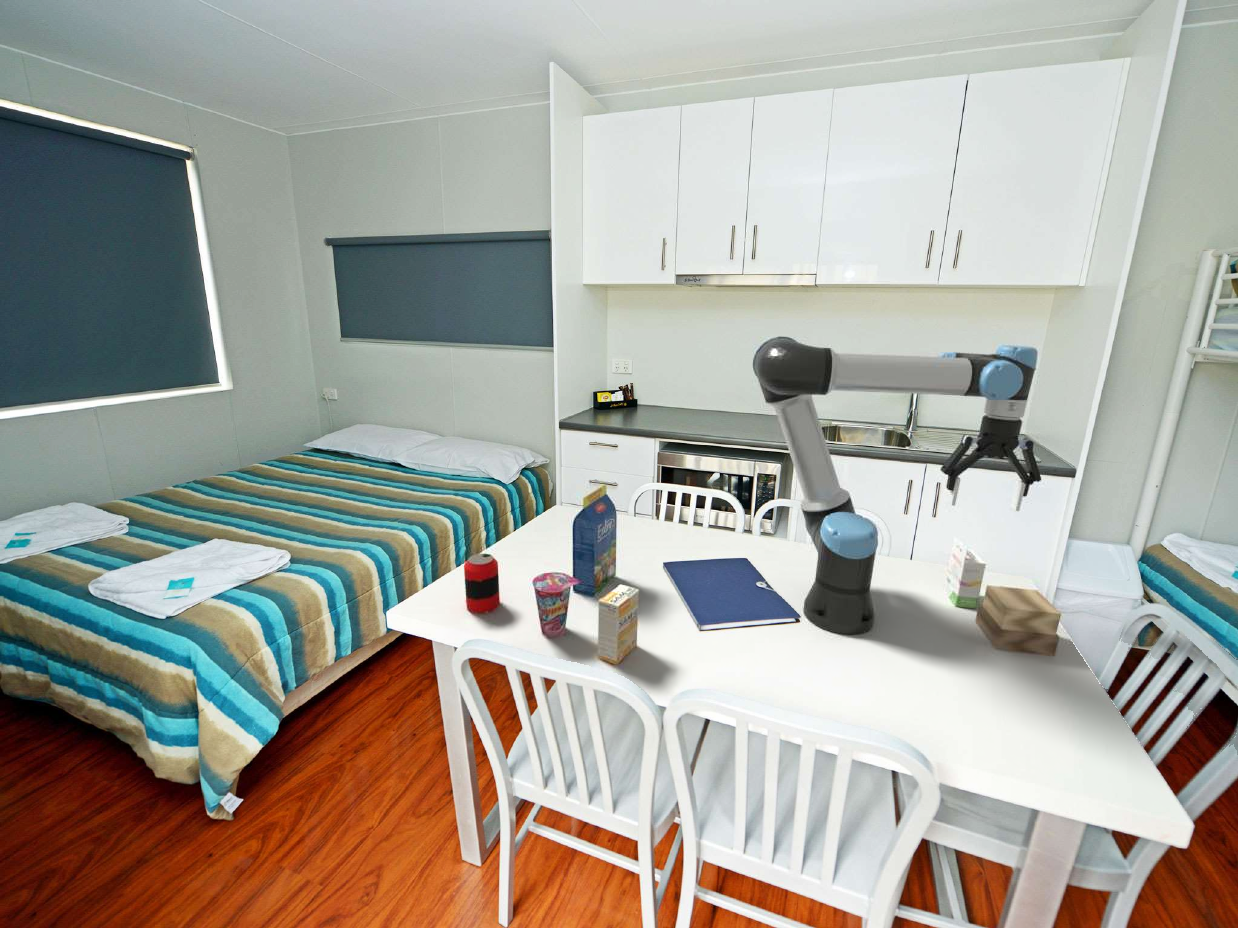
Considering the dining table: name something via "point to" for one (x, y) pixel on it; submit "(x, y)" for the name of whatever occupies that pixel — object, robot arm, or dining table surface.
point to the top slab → (1021, 610)
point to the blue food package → (594, 543)
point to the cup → (553, 601)
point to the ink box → (964, 576)
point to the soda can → (481, 583)
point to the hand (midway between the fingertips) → (982, 506)
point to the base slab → (1015, 637)
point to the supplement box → (617, 623)
